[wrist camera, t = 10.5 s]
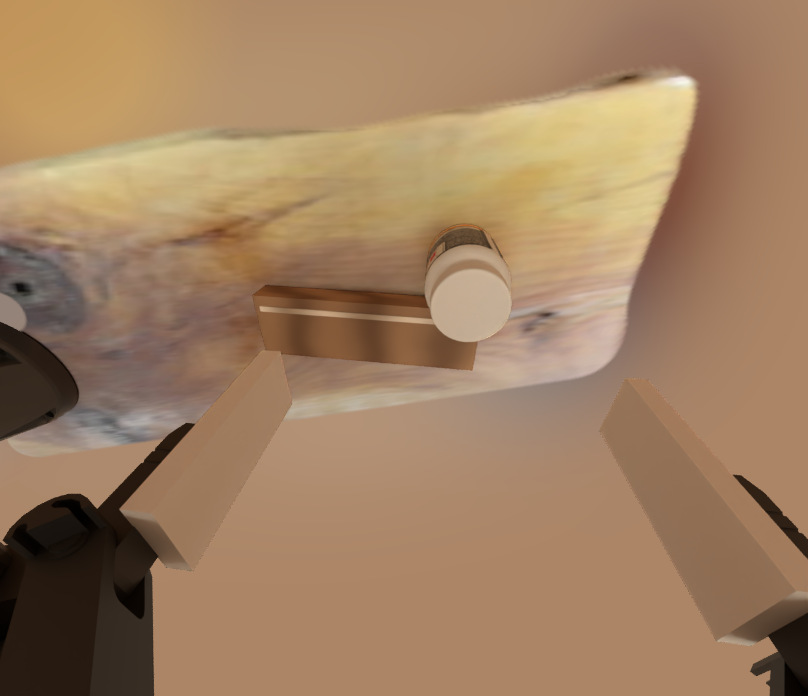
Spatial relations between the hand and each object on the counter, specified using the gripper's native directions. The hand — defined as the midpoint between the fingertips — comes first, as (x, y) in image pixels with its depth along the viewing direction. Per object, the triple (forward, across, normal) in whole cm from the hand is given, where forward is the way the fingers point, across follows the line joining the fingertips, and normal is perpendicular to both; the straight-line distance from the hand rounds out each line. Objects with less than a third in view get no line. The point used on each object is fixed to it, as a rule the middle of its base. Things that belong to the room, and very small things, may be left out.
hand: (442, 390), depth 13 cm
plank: (+17, -6, -6) cm, 19 cm away
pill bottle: (+17, +2, 0) cm, 17 cm away
